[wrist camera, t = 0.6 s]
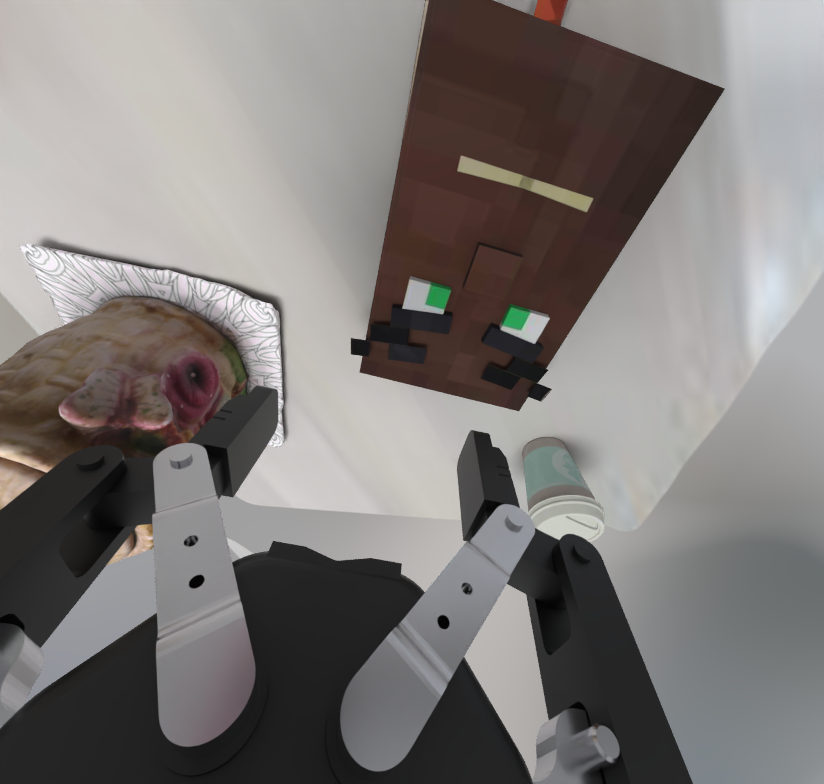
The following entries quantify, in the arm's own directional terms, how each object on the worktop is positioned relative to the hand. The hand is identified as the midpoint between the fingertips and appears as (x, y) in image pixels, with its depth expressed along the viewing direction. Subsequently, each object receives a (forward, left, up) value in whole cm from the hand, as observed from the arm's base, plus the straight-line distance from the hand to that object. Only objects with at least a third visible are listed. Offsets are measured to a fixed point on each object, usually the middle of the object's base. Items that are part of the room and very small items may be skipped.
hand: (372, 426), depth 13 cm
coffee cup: (+15, +29, -23) cm, 39 cm away
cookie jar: (+24, -19, -23) cm, 38 cm away
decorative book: (-4, +5, -23) cm, 24 cm away
